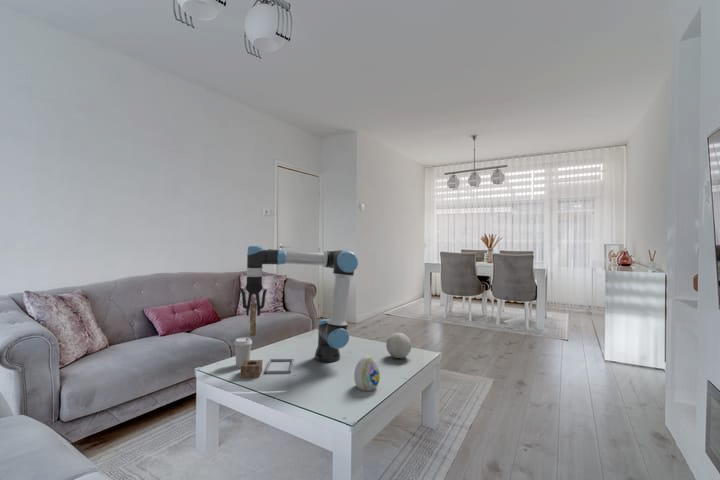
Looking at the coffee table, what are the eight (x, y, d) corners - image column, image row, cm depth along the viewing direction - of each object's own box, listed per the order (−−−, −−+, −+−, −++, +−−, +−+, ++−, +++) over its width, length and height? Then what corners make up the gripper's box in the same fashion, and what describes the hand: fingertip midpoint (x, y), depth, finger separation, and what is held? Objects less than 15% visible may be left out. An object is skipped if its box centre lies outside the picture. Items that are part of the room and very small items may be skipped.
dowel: (256, 334, 177) (257, 303, 178) (255, 335, 175) (256, 304, 175) (250, 334, 177) (251, 303, 177) (249, 335, 174) (250, 304, 174)
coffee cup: (245, 371, 182) (246, 342, 182) (229, 369, 184) (230, 341, 184) (254, 365, 191) (255, 337, 191) (239, 363, 193) (240, 336, 193)
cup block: (262, 372, 180) (262, 359, 181) (259, 379, 172) (259, 366, 172) (244, 372, 179) (244, 360, 180) (240, 379, 171) (240, 366, 171)
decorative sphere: (385, 361, 203) (386, 335, 203) (386, 353, 218) (387, 329, 218) (411, 362, 201) (411, 337, 201) (410, 354, 216) (411, 330, 216)
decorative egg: (368, 395, 156) (369, 362, 156) (348, 387, 164) (349, 356, 164) (384, 387, 166) (385, 356, 166) (365, 380, 174) (365, 350, 174)
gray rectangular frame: (293, 362, 197) (293, 358, 197) (290, 374, 178) (290, 370, 178) (270, 362, 196) (270, 358, 196) (264, 375, 177) (264, 371, 177)
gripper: (271, 275, 181) (270, 320, 180) (240, 275, 179) (239, 320, 179) (269, 276, 173) (267, 323, 173) (236, 276, 172) (235, 323, 171)
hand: (253, 321), depth 176 cm, fingers closed on dowel, 3 cm apart
